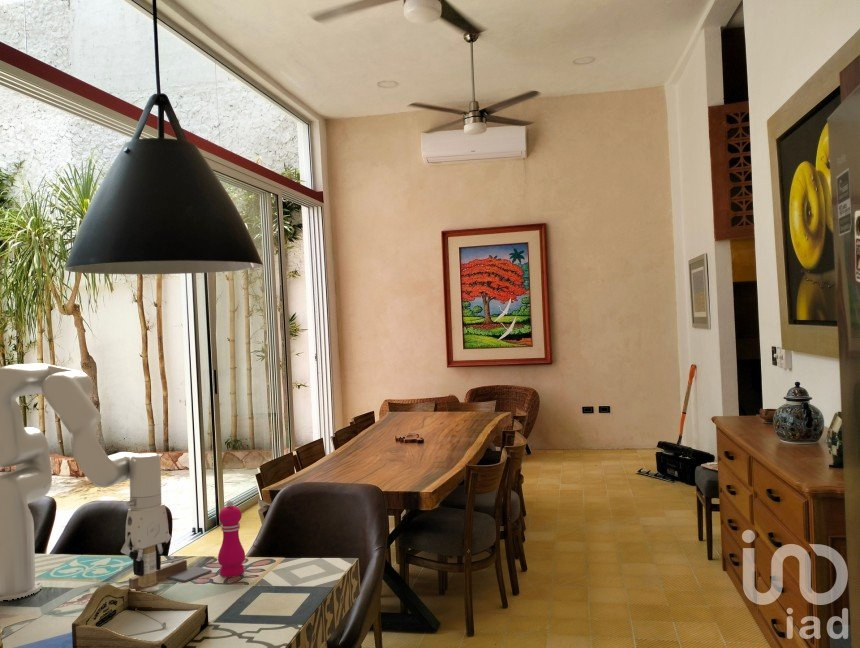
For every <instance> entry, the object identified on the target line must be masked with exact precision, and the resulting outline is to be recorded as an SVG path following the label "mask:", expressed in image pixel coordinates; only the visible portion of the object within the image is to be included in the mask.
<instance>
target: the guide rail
mask: <svg viewBox="0 0 860 648" xmlns="http://www.w3.org/2000/svg"><path fill="white" fill-rule="evenodd" d="M187 564H188V562H187V559H180V560H177V561H175V562H172V563H168V564H166V565H163V566H161V569H160V570H156V580H157V582H156V583H158V582H160V581H164V580H166V579H169V578H168V576H170V575H173V574H176V573H178V572H181V571H184V570H186V569H188V565H187ZM138 582H139V579H138V575H134V576H132V577H129V578H128V587H129V588H131V589H137V590H139V589H142V588H144V587H141V586H139V585H138ZM129 588H128V589H129Z"/></svg>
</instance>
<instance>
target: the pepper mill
mask: <svg viewBox="0 0 860 648" xmlns="http://www.w3.org/2000/svg"><path fill="white" fill-rule="evenodd" d="M242 515H243V514H242V511H241V509H240V508H239V507H238V506H235V505H234V502H233V501H232V500H228V501H227V502H226V506H225V507H223V508H222V509H221V510H220V511H219V514H218V520H219V523H221V525H220V527H221V531H222V543H221V546H220V549H219V551H218V554H217V556H218V557H217V562H218V564H219V565H220V566H221V567H219V575H220V576H221V577H222V576H223V578H233V577H232V576H235V577H238V575H239V576H241V575H243V574H244V572H245V568H244V564H243V562H244V561H245V560H246V552H245V549H244V547H243V545H242V543H241V540H240V535H239V531H240V529H241V523H240V521H241V519H242ZM242 573H243V574H242ZM240 574H241V575H240Z"/></svg>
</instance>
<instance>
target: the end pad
mask: <svg viewBox="0 0 860 648" xmlns="http://www.w3.org/2000/svg"><path fill="white" fill-rule="evenodd" d="M210 573H212V569H209V568H205V567H199V566H192V567H189V568H187V569H186V570H184V571H181V572H178V573H176V574H173V575H170V576H168V578H167V579H170V580H174V581H178V582H182V583H187V582H190V581H191V580H194V579H197V578H199V577H202V576H205V575H207V574H210Z"/></svg>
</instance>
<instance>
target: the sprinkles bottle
mask: <svg viewBox="0 0 860 648" xmlns="http://www.w3.org/2000/svg"><path fill="white" fill-rule="evenodd" d="M155 549H156V548H155V546H151V547H148V548H145V549H143V552H142V558H141V560H143V561H144V575H143V576H138V575H137V576H138V579H139V582H138V585H139V586H141V587H143V588H146V587H151V586H152V587H153V586H154V585H156V584H157V583H158V582H157V580H156V550H155Z"/></svg>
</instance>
